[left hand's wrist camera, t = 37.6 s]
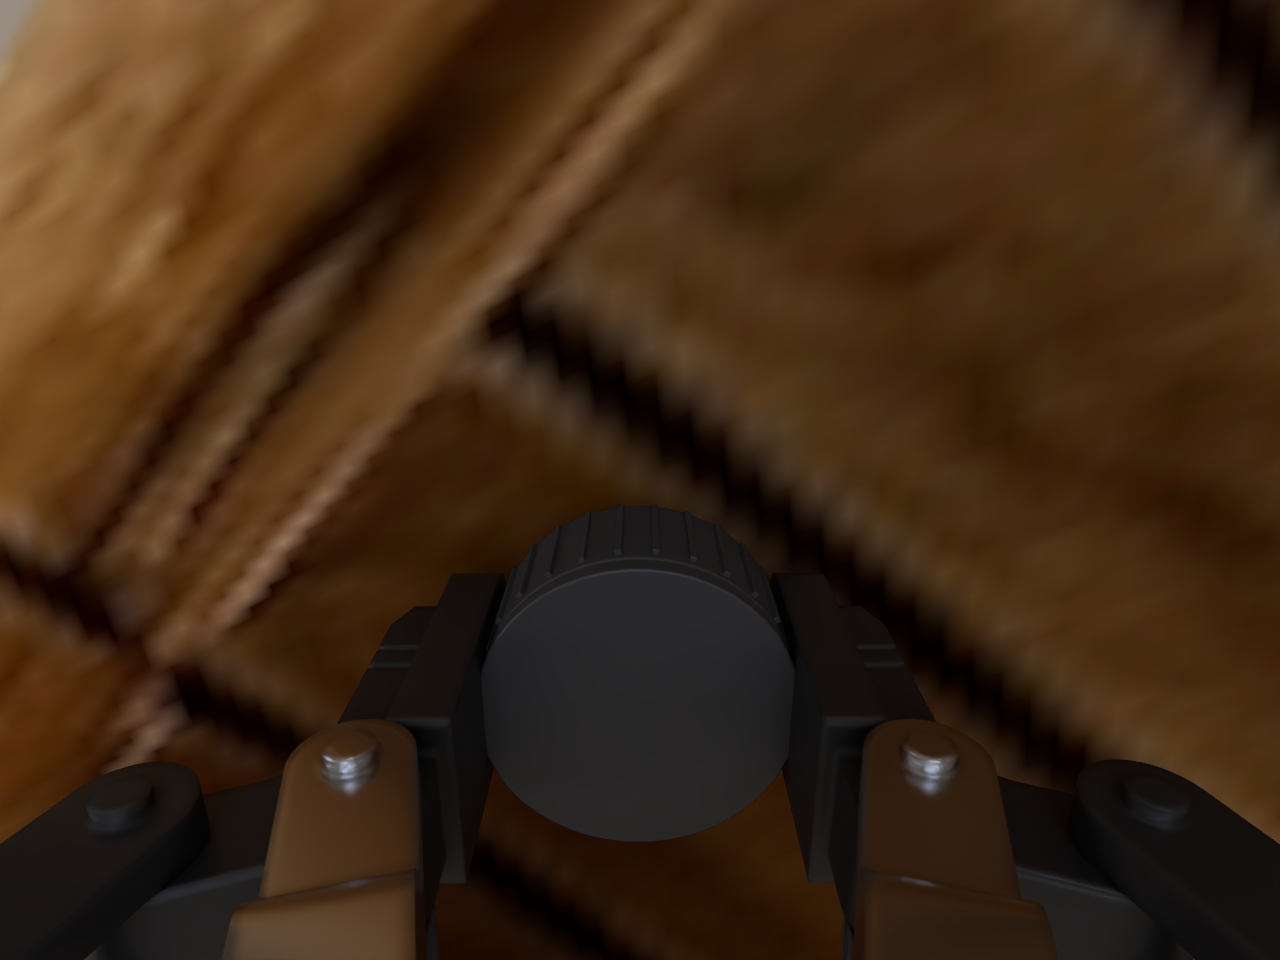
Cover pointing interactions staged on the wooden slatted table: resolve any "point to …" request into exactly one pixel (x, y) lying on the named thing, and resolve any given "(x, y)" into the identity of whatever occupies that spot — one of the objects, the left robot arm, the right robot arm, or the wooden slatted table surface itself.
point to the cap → (638, 677)
